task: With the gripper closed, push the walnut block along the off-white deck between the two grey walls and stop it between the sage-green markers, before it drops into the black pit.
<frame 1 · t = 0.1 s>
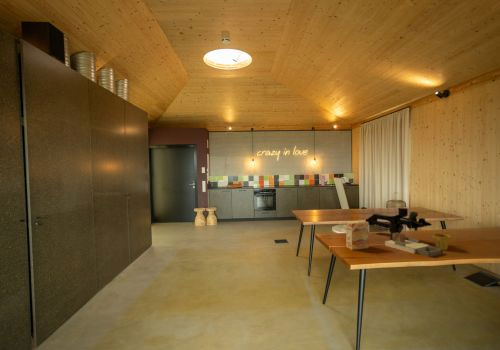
hand: (427, 225, 192), 17 cm above the table, tool horizontal, fingers open, 9 cm apart
tunnel deck: (406, 247, 193), on the table
coffeecake box: (357, 248, 194), on the table
plant pot: (441, 249, 189), on the table
walnut block: (398, 241, 198), point 3 cm above the table, touching tunnel deck
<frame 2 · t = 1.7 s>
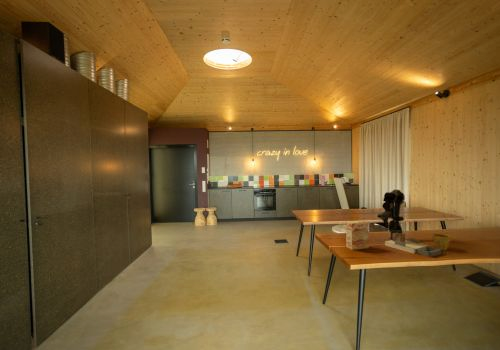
hand: (390, 228, 204), 12 cm above the table, tool pointing down, fingers open, 6 cm apart
nothing on the table moved.
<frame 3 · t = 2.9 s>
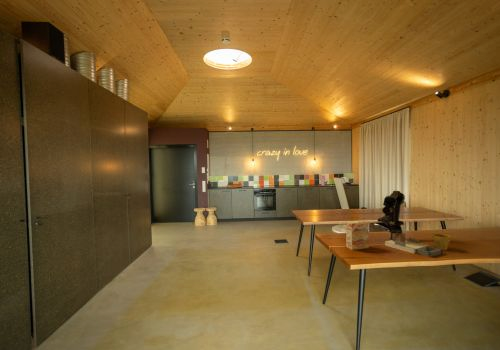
hand: (390, 232, 205), 9 cm above the table, tool pointing down, fingers closed
nothing on the table moved.
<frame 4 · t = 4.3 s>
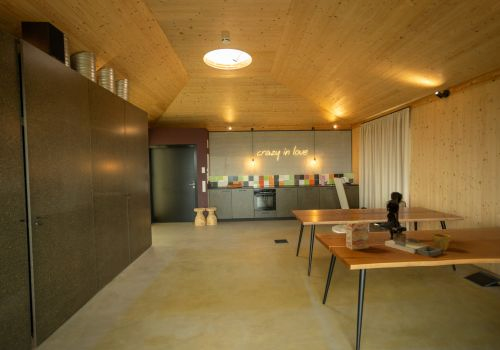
hand: (392, 238, 203), 5 cm above the table, tool pointing down, fingers closed
walnut block: (399, 241, 198), point 3 cm above the table, touching gripper
everything else where it was.
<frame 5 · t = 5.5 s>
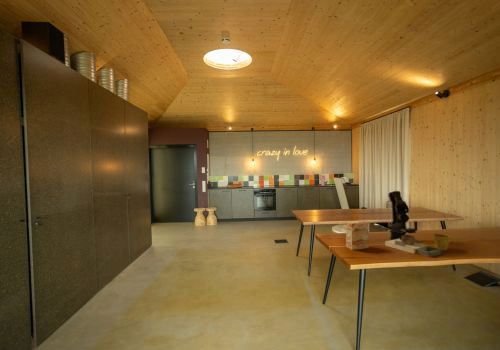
hand: (401, 240, 197), 5 cm above the table, tool pointing down, fingers closed
walnut block: (408, 244, 192), point 3 cm above the table, touching gripper
everything else where it was.
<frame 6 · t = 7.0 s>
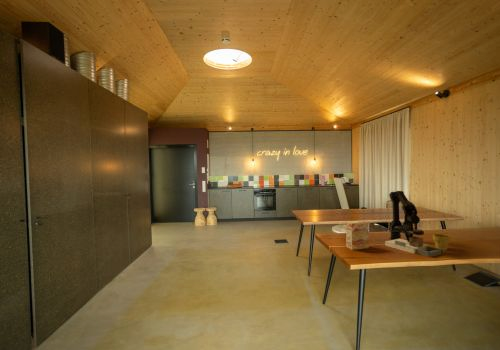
hand: (408, 241, 191), 5 cm above the table, tool pointing down, fingers closed
walnut block: (416, 245, 187), point 3 cm above the table, touching gripper, tunnel deck
everything else where it was.
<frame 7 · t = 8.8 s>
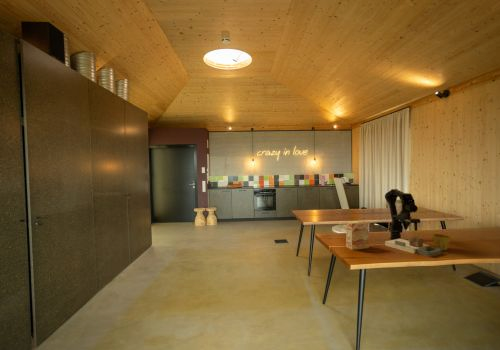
hand: (405, 230, 199), 12 cm above the table, tool pointing down, fingers closed
walnut block: (416, 245, 187), point 3 cm above the table, touching tunnel deck
everything else where it was.
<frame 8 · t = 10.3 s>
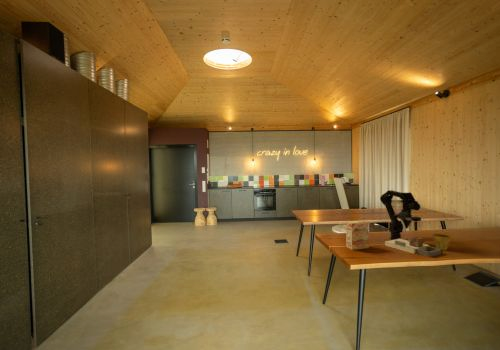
hand: (406, 228, 203), 12 cm above the table, tool pointing down, fingers closed
nothing on the table moved.
at the end: walnut block inside the target area (0.1 cm from its centre), point 3.0 cm above the table; walnut block tilted 0°; walnut block moved 13.1 cm from its start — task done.
